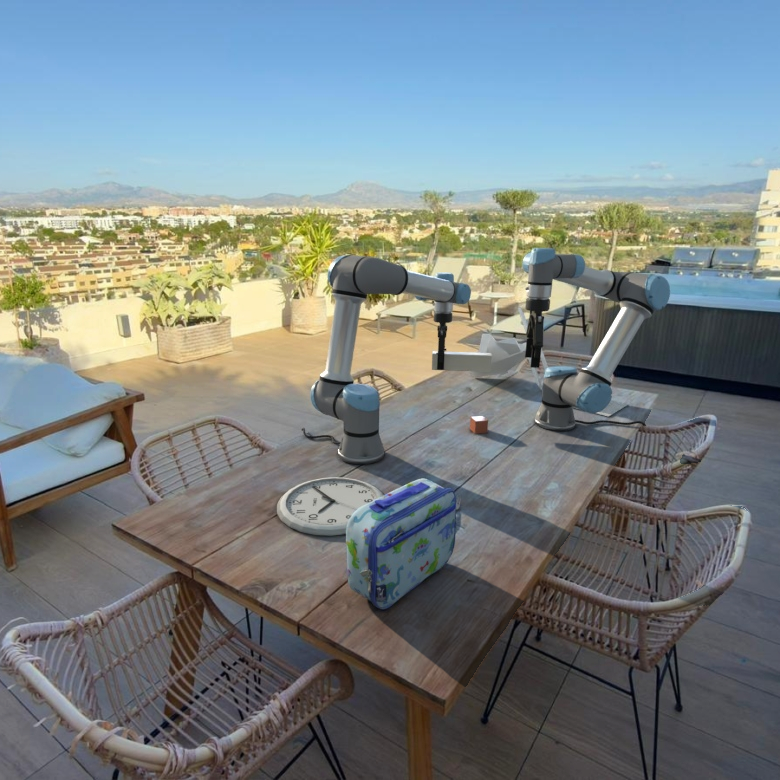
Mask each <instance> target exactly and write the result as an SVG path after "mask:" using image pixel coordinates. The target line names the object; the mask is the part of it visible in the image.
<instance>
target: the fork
mask: <svg viewBox="0 0 780 780" xmlns="http://www.w3.org/2000/svg"><path fill="white" fill-rule="evenodd" d="M461 501H462V497H460V499H459V495H458V496H457V499H456V511H457V510H459V509H460V506H461Z"/></svg>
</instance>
